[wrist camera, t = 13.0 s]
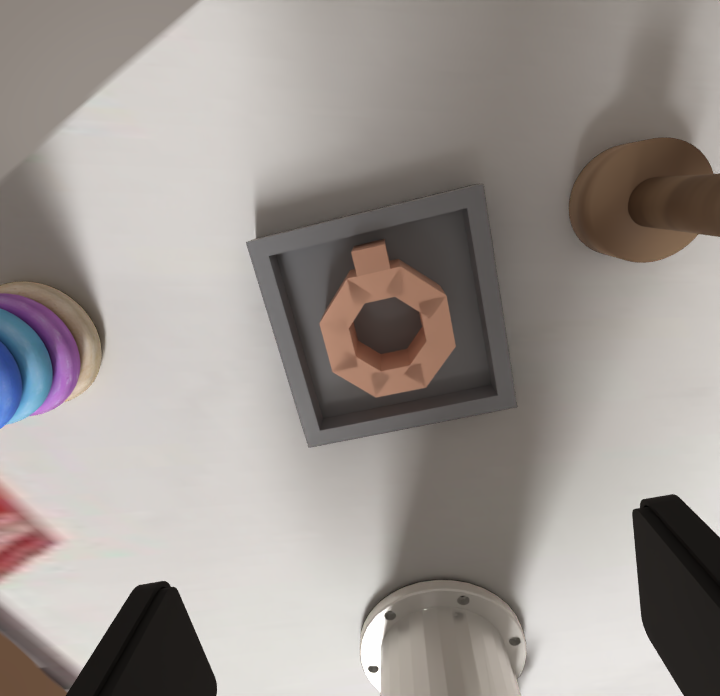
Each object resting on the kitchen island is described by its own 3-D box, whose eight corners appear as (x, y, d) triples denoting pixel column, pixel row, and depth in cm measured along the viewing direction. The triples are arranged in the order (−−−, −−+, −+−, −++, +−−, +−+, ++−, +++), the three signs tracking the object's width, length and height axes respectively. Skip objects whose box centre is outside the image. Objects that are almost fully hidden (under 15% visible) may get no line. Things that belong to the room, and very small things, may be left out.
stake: (701, 197, 27) (880, 201, 17) (614, 276, 28) (733, 319, 19) (633, 118, 26) (784, 75, 16) (546, 204, 27) (637, 211, 18)
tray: (475, 184, 27) (483, 183, 25) (507, 392, 31) (517, 407, 29) (255, 238, 28) (246, 242, 26) (313, 431, 32) (308, 447, 30)
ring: (429, 228, 27) (434, 232, 24) (454, 362, 30) (461, 380, 27) (310, 256, 28) (303, 263, 25) (344, 384, 30) (341, 404, 28)
